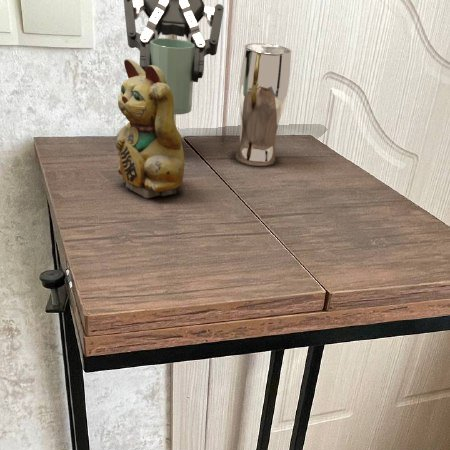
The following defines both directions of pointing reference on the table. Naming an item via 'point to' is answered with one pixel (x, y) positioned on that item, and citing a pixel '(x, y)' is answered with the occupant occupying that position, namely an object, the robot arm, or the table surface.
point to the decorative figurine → (149, 134)
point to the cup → (175, 69)
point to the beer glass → (261, 101)
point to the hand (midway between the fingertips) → (171, 76)
